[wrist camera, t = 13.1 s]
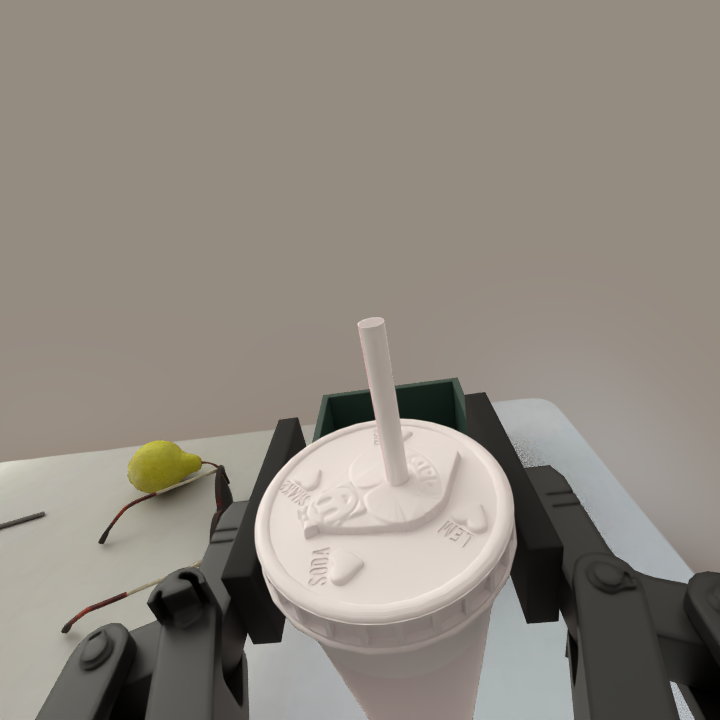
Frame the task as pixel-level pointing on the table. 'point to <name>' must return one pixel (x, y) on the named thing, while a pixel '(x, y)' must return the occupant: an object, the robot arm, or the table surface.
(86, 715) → the robot arm
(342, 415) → the bin
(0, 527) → the pen
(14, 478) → the table surface
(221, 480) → the sunglasses
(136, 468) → the fruit
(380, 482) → the smoothie
